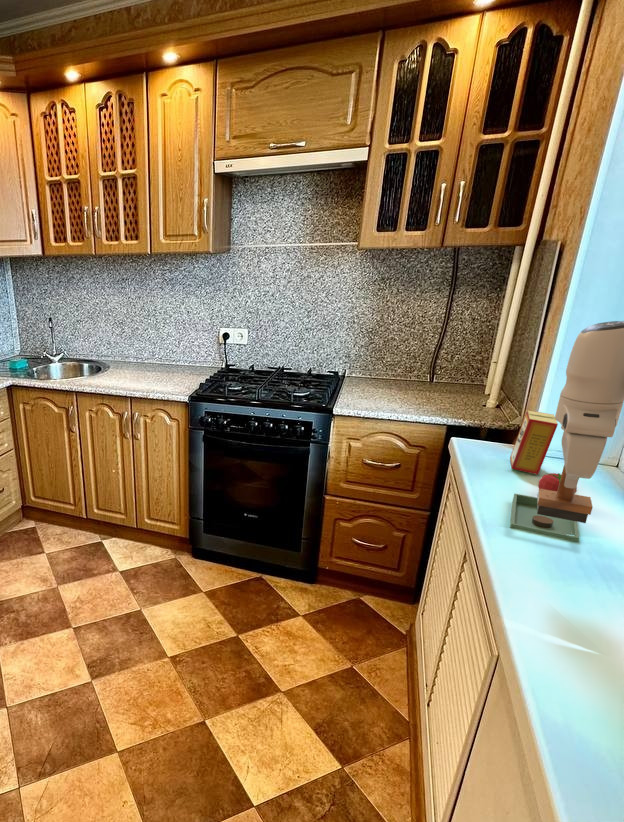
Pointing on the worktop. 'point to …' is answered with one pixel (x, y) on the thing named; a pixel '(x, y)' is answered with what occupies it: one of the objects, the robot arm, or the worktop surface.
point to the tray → (527, 509)
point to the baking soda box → (533, 441)
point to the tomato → (550, 482)
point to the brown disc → (542, 521)
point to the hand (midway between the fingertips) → (568, 483)
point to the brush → (563, 503)
